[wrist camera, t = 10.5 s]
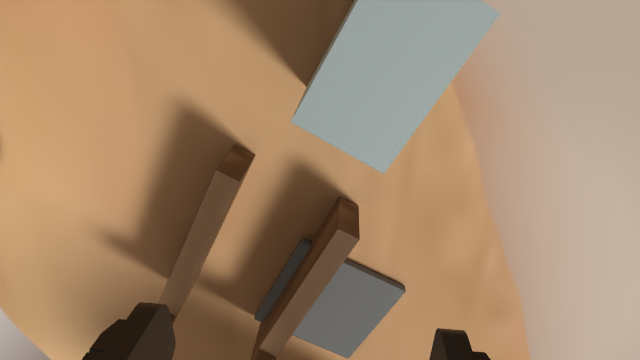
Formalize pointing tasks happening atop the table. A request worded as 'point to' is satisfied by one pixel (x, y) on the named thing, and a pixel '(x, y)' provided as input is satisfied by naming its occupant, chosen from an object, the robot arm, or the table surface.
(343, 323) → the pad
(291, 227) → the table surface
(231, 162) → the rack
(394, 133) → the block
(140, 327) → the robot arm
